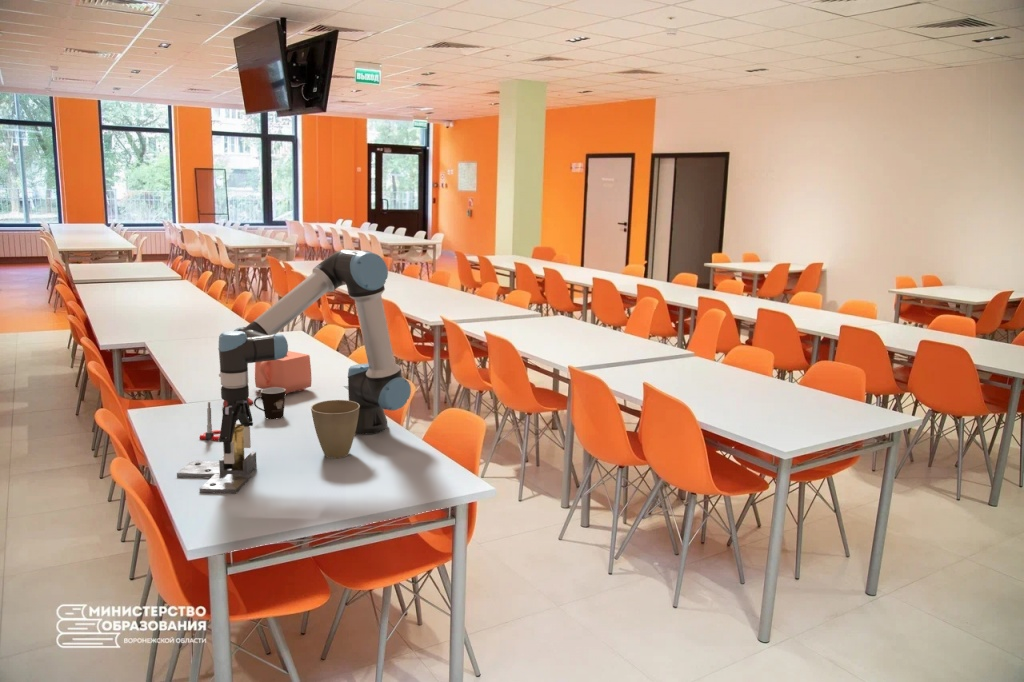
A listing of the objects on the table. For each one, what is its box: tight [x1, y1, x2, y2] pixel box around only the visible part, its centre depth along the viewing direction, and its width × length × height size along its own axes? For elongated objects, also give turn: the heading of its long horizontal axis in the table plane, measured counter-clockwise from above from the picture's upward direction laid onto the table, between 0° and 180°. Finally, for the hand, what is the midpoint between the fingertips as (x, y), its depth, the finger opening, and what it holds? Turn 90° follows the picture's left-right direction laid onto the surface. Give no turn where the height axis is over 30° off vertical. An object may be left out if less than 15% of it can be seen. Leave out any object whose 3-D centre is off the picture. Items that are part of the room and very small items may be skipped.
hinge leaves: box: [176, 451, 258, 495], centre depth 217 cm, size 21×21×5 cm
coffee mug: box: [253, 387, 286, 420], centre depth 276 cm, size 12×9×10 cm
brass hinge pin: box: [232, 423, 246, 469], centre depth 222 cm, size 4×4×14 cm
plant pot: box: [310, 399, 360, 459], centre depth 238 cm, size 15×15×16 cm
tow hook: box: [199, 401, 221, 442], centre depth 254 cm, size 8×13×9 cm
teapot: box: [254, 350, 312, 395], centre depth 314 cm, size 25×23×18 cm
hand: (237, 455), depth 222 cm, fingers open, 13 cm apart
